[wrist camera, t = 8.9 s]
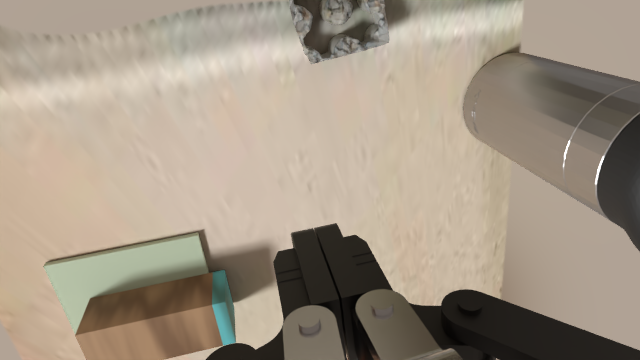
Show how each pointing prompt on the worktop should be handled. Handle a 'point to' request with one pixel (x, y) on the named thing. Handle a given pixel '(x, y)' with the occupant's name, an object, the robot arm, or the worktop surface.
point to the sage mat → (123, 271)
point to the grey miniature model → (337, 12)
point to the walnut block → (159, 320)
